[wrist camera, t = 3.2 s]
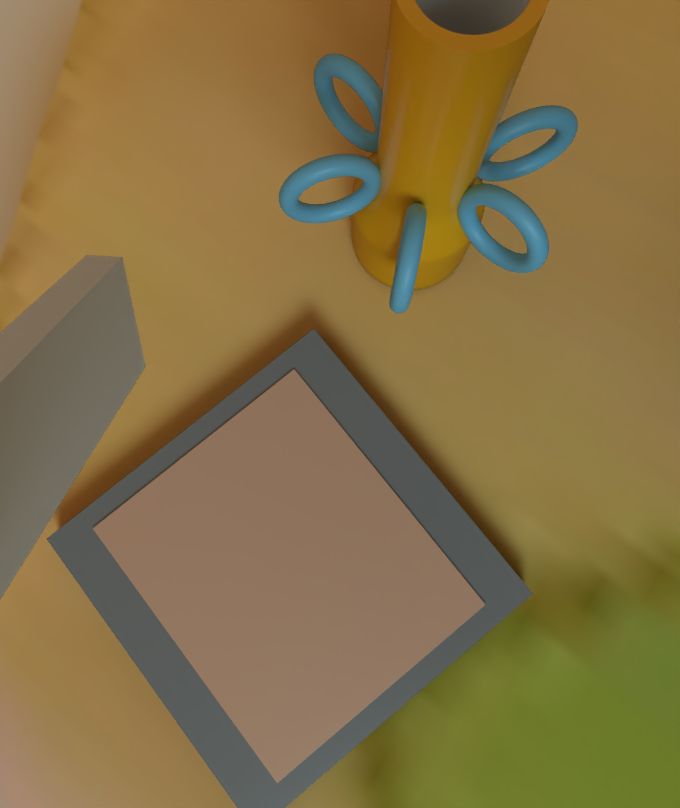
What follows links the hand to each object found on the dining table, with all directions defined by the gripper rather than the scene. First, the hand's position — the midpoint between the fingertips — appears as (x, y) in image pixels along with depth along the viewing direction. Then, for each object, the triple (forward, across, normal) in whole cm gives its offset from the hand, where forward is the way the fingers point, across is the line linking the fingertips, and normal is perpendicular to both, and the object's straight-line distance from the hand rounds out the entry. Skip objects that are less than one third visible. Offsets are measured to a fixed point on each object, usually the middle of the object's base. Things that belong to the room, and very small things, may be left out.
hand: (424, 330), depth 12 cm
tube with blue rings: (+18, +1, -4) cm, 18 cm away
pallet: (+6, -4, -16) cm, 18 cm away
